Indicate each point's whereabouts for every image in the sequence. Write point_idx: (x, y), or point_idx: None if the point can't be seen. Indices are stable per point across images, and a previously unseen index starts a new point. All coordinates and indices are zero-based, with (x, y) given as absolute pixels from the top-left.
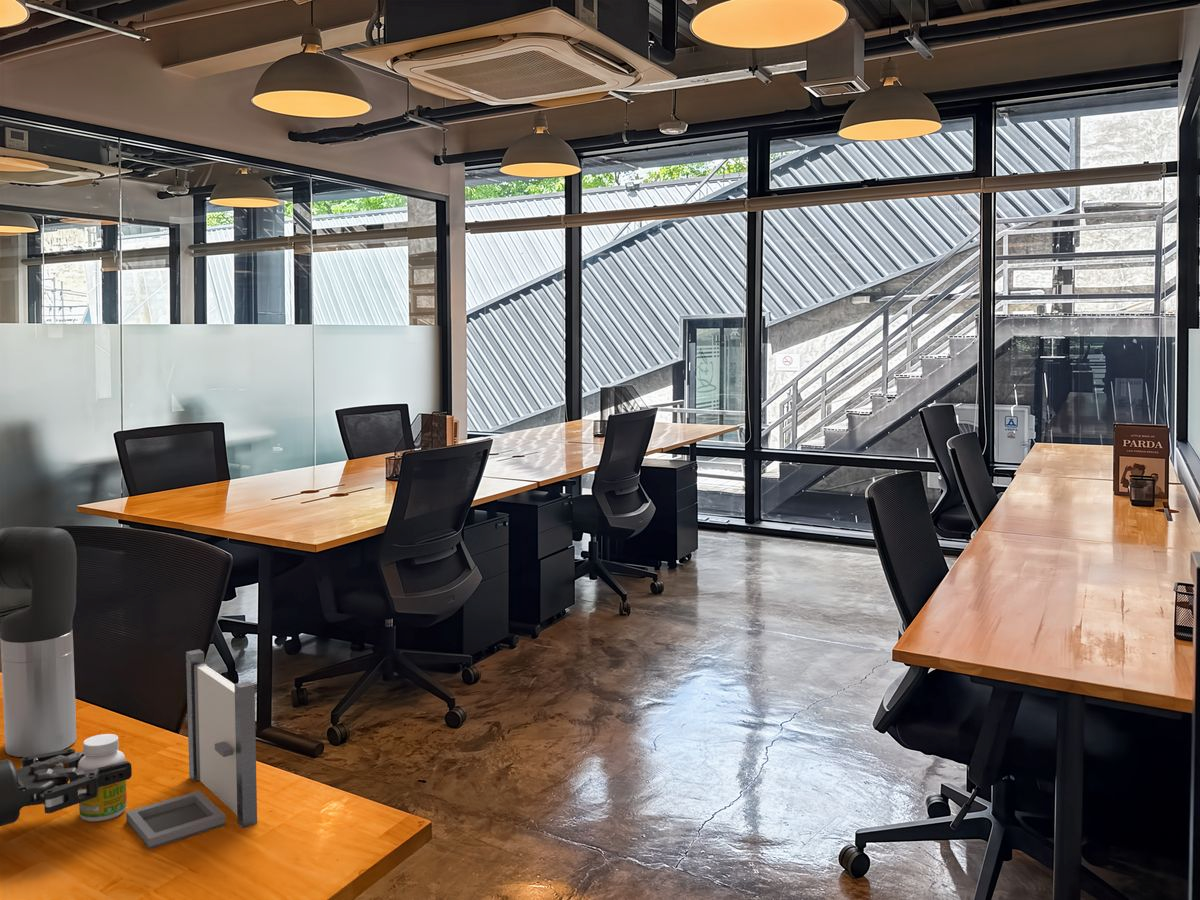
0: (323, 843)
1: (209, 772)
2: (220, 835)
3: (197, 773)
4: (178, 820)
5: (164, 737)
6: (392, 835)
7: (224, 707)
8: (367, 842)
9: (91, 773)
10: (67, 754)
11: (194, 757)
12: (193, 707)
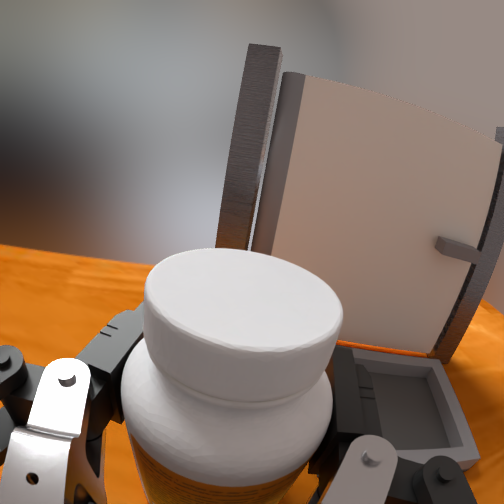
0: (495, 335)
1: None
2: (457, 387)
3: None
4: (393, 408)
5: (47, 257)
6: (488, 308)
7: (449, 166)
8: (497, 319)
9: (393, 468)
10: (10, 385)
11: None
12: (258, 171)
